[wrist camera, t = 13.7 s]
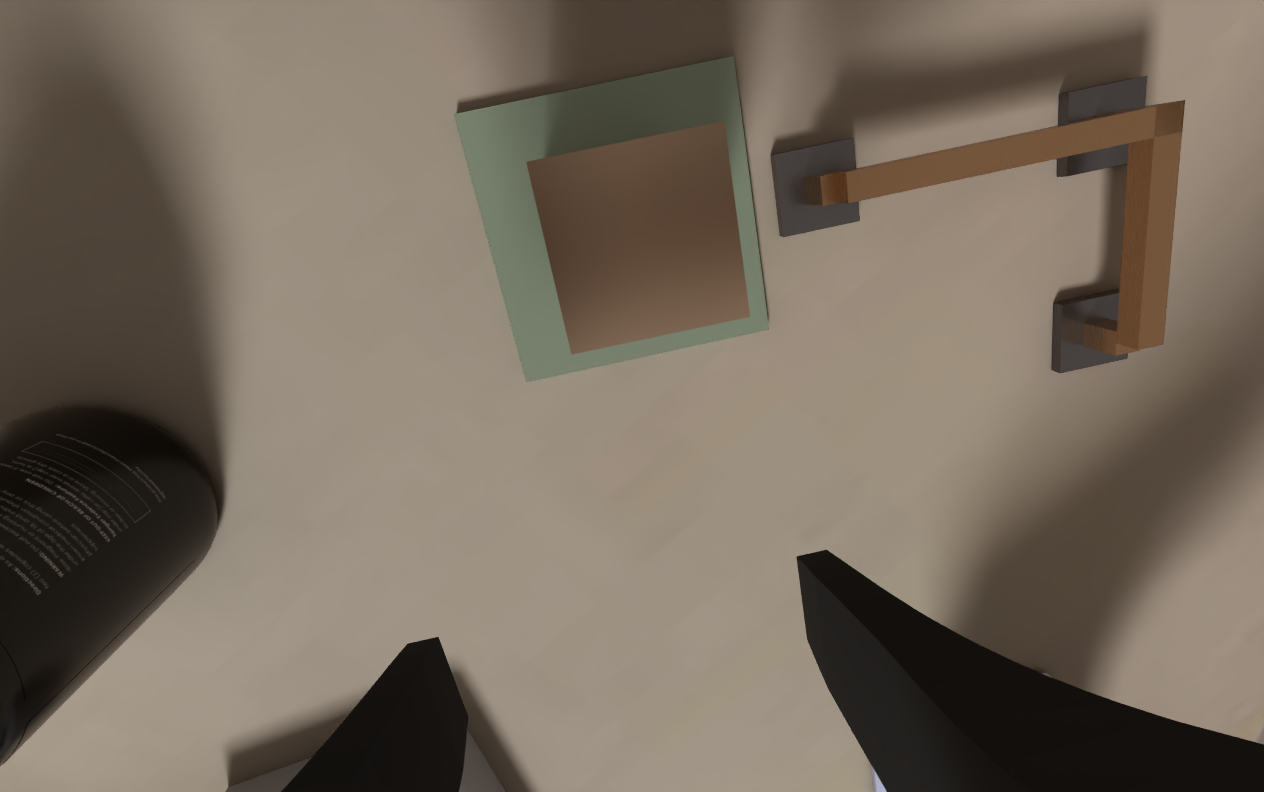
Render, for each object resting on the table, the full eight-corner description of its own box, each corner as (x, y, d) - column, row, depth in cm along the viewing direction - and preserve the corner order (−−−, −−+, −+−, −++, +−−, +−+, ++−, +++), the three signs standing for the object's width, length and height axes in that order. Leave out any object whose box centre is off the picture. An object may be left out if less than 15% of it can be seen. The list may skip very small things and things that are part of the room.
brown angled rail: (1117, 355, 21) (1184, 375, 19) (802, 425, 21) (830, 453, 19) (1135, 78, 19) (1216, 61, 16) (770, 155, 18) (799, 150, 16)
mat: (766, 327, 20) (769, 329, 20) (527, 379, 20) (526, 382, 20) (731, 57, 17) (733, 55, 17) (455, 115, 17) (454, 114, 17)
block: (698, 280, 19) (750, 316, 13) (573, 306, 19) (571, 354, 13) (677, 144, 18) (724, 121, 12) (542, 172, 18) (526, 161, 12)
